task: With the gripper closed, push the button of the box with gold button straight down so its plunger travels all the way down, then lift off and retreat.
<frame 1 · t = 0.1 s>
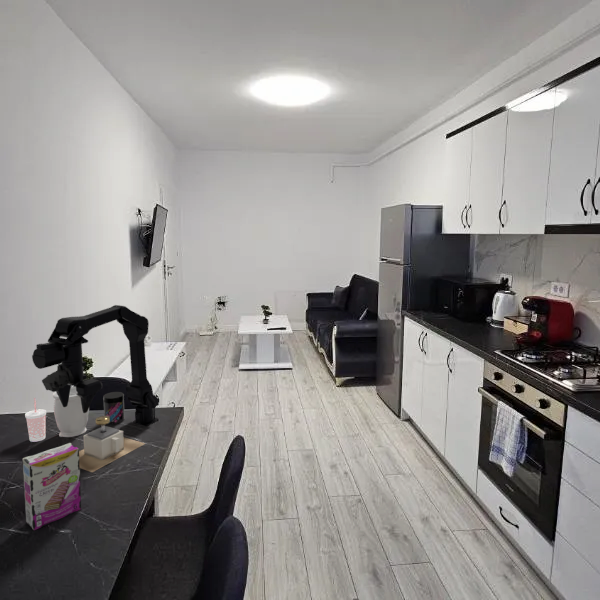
hand: (75, 409, 137), 15 cm above the table, fingers open, 9 cm apart
plunger: (103, 429, 138), point 8 cm above the table, slide at 0.0 cm
box with gold button: (104, 451, 139), resting on serving board
beverage cup: (37, 439, 149), on the table
jar: (73, 434, 153), on the table
candy bar box: (55, 517, 109), on the table
supplement container: (114, 423, 163), on the table
serving board: (104, 454, 140), on the table
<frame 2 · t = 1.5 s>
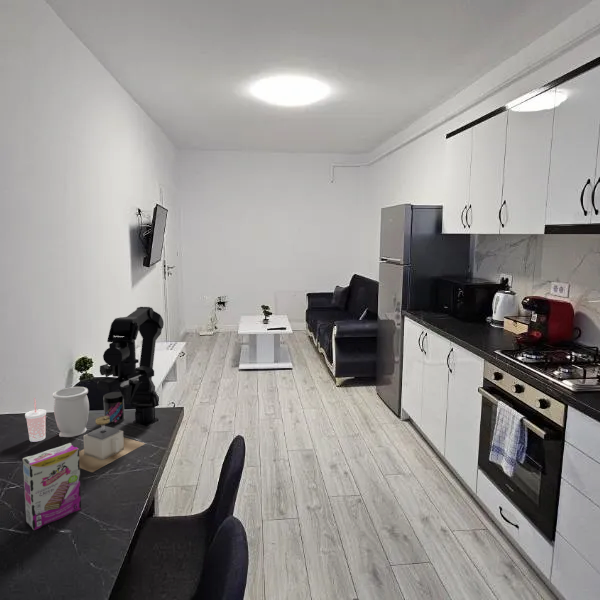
hand: (128, 403, 146), 13 cm above the table, fingers closed
nothing on the table moved.
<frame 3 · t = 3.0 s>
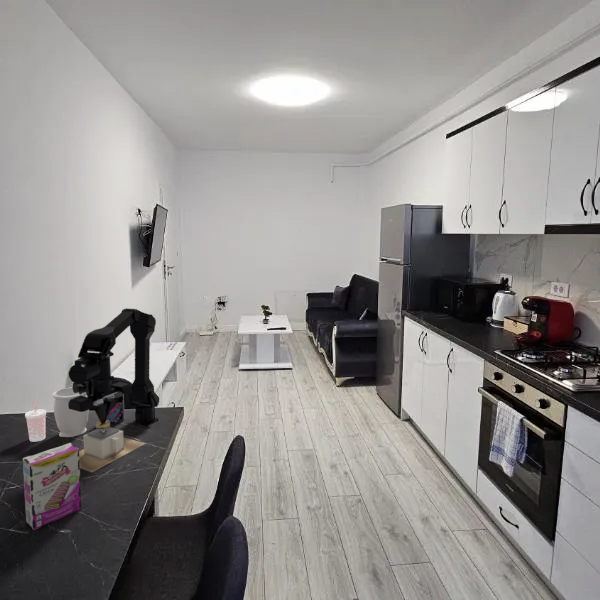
hand: (103, 422, 138), 10 cm above the table, fingers closed, pressing on plunger
plunger: (103, 433, 139), point 7 cm above the table, slide at 1.3 cm, touching gripper
everything else where it was.
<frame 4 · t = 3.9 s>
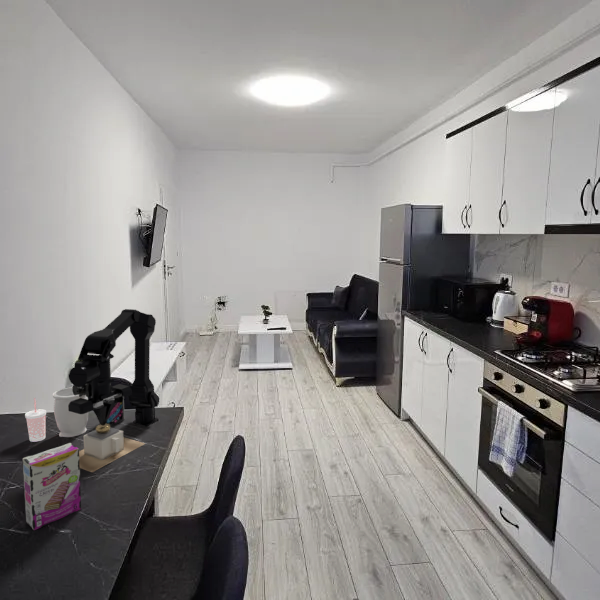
hand: (102, 425, 138), 10 cm above the table, fingers closed
plunger: (103, 436, 139), point 6 cm above the table, slide at 2.5 cm
everything else where it was.
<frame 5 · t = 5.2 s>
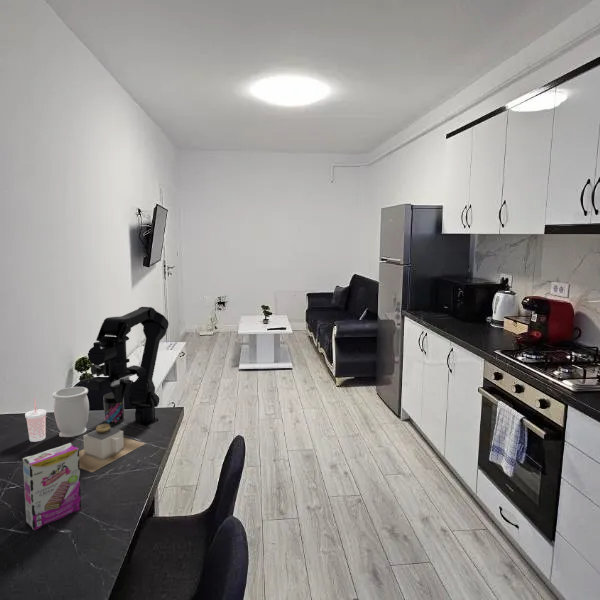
hand: (119, 402, 147), 13 cm above the table, fingers closed
nothing on the table moved.
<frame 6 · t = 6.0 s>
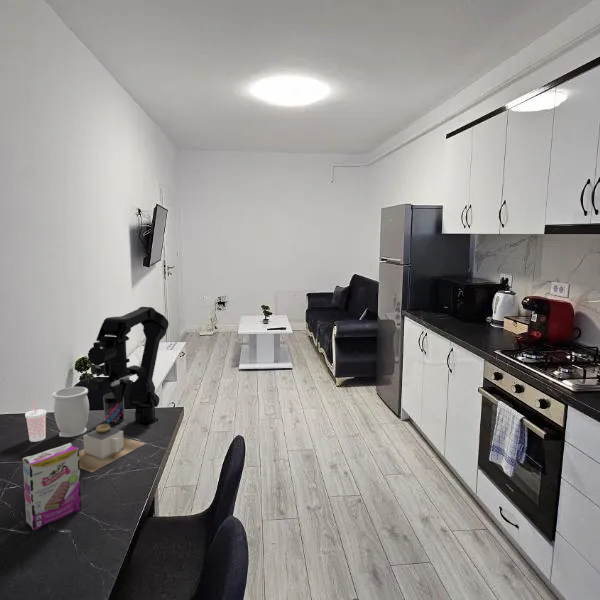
hand: (119, 402, 147), 13 cm above the table, fingers closed
nothing on the table moved.
at the end: plunger slide at 2.5 cm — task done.
